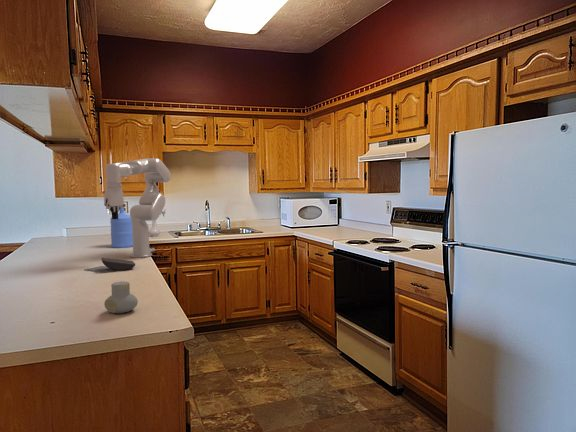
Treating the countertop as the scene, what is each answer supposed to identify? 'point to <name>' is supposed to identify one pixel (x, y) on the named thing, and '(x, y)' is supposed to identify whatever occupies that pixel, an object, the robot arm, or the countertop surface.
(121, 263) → the leaning round-cornered charcoal block
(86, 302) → the countertop surface
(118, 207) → the robot arm
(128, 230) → the water jug
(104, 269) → the mat
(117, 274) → the countertop surface
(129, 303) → the air freshener
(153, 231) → the flower vase
